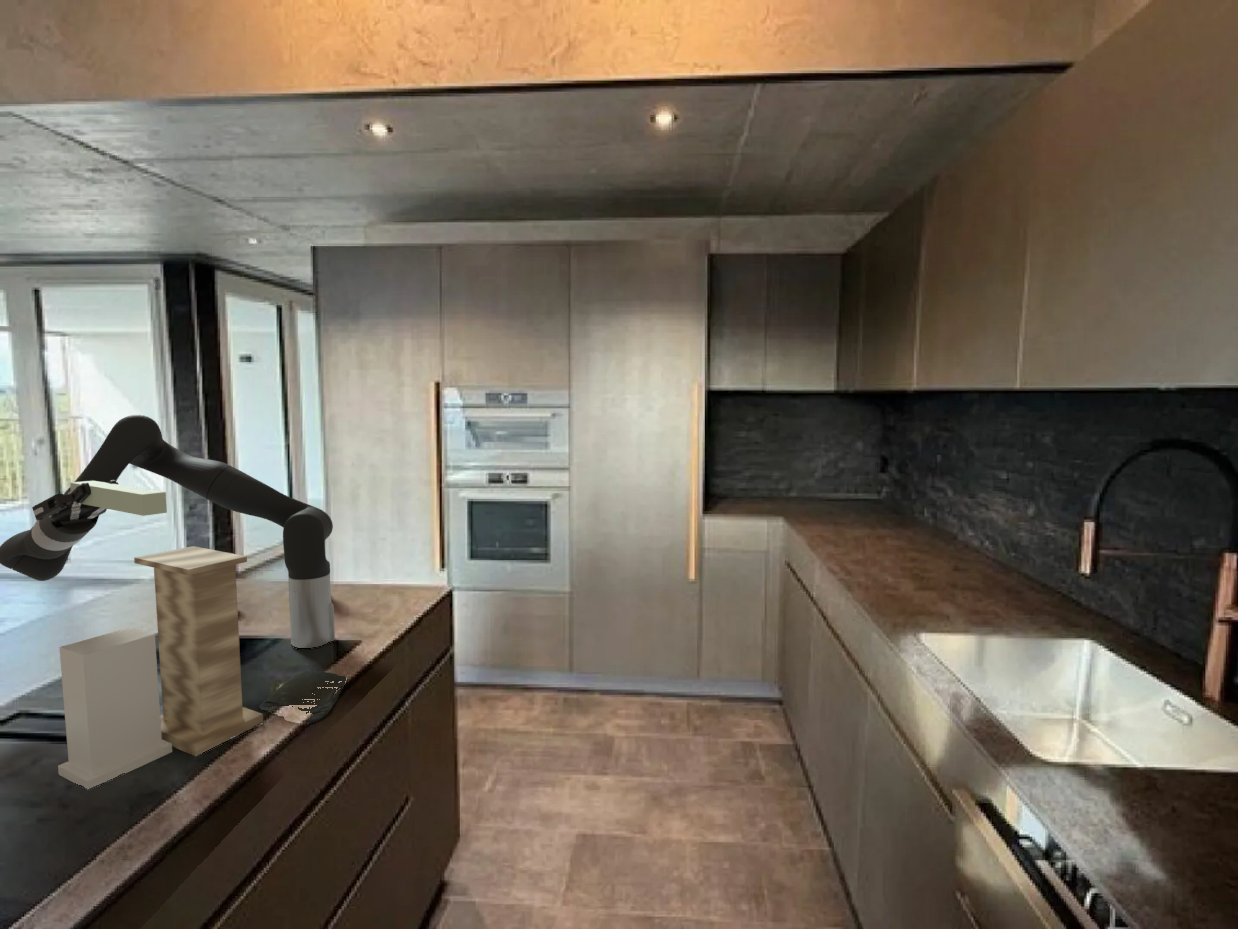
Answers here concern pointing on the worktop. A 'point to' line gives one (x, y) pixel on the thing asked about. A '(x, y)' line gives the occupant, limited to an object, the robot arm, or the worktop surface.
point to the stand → (199, 647)
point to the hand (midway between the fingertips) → (101, 486)
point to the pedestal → (111, 706)
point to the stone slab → (308, 692)
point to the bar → (124, 498)
